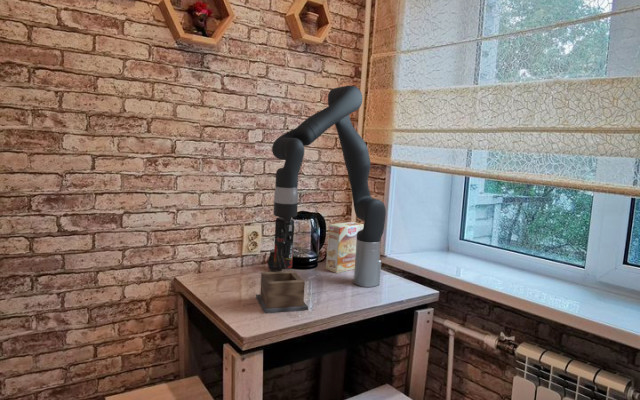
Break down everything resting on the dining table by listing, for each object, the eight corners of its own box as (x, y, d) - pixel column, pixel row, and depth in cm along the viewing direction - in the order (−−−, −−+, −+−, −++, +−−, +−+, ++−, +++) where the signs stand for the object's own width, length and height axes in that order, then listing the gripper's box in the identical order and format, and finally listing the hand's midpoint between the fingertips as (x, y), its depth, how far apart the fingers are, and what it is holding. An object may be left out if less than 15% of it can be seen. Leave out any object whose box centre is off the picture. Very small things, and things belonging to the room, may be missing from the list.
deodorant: (289, 269, 137) (291, 223, 135) (271, 267, 138) (273, 221, 136) (294, 264, 143) (296, 220, 141) (276, 262, 144) (278, 218, 142)
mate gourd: (270, 273, 174) (271, 248, 173) (265, 267, 181) (265, 244, 180) (287, 271, 177) (288, 247, 176) (281, 266, 184) (282, 243, 183)
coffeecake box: (336, 273, 178) (339, 227, 176) (325, 269, 183) (327, 224, 181) (361, 268, 188) (364, 223, 186) (349, 264, 193) (352, 221, 191)
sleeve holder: (295, 294, 151) (297, 269, 150) (307, 310, 138) (309, 282, 137) (256, 297, 146) (256, 271, 145) (264, 313, 133) (265, 285, 132)
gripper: (303, 204, 132) (301, 258, 134) (291, 198, 146) (289, 246, 148) (279, 204, 130) (277, 259, 132) (269, 197, 143) (267, 247, 145)
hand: (283, 252), depth 140 cm, fingers closed on deodorant, 6 cm apart
